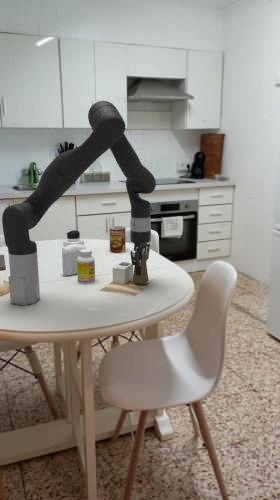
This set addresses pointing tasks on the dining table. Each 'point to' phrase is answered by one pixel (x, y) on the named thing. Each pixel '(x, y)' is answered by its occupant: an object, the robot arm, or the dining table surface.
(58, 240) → the dining table surface
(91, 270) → the supplement bottle
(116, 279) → the white box
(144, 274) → the cork
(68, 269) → the photo printer
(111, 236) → the canned food
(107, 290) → the board
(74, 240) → the medicine bottle
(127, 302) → the dining table surface
